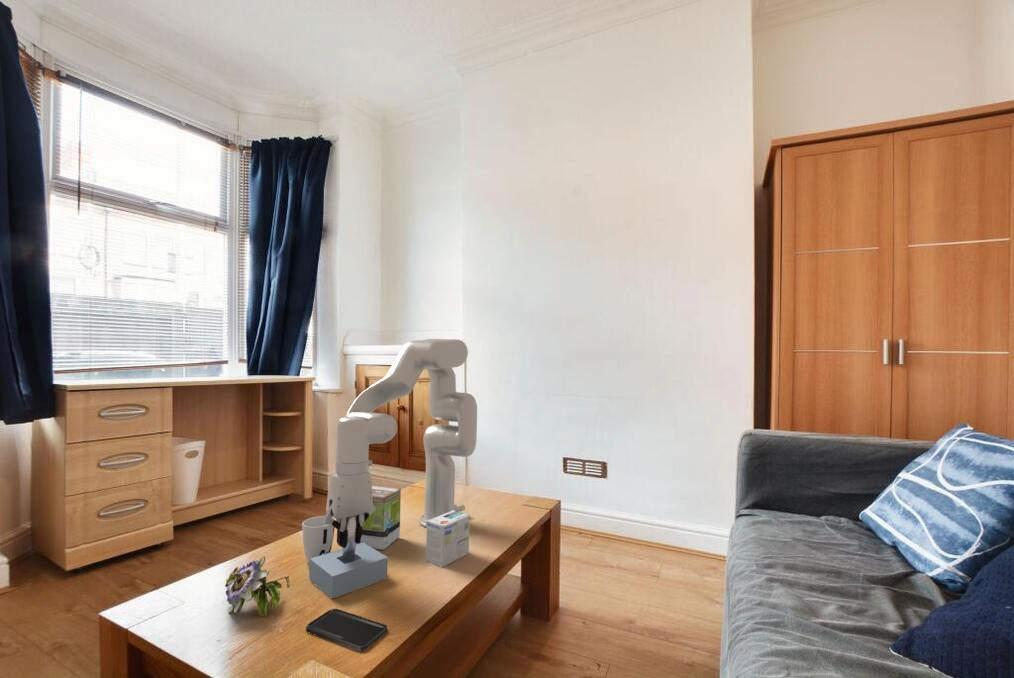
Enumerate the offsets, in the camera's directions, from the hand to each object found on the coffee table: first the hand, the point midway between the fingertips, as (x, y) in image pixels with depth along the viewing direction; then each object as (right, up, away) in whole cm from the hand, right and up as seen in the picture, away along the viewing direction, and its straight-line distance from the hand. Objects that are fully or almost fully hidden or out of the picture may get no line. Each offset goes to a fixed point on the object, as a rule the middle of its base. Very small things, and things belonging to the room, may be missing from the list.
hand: (349, 543), depth 111 cm
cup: (-12, -9, +10) cm, 17 cm away
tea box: (-2, -10, +22) cm, 24 cm away
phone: (+7, -9, -20) cm, 23 cm away
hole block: (0, -9, 0) cm, 9 cm away
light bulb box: (+22, -10, +13) cm, 28 cm away
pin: (0, -3, 0) cm, 3 cm away
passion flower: (-16, -8, -12) cm, 22 cm away
